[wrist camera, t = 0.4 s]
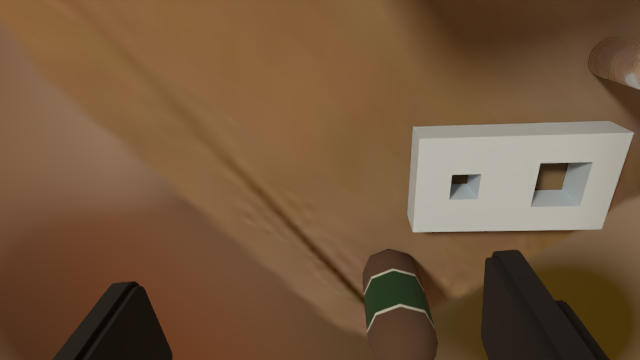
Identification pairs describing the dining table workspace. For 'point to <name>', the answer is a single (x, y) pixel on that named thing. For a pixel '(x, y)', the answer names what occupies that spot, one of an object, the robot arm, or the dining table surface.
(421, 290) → the beer bottle
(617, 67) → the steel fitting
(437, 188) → the manifold block
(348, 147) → the dining table surface
